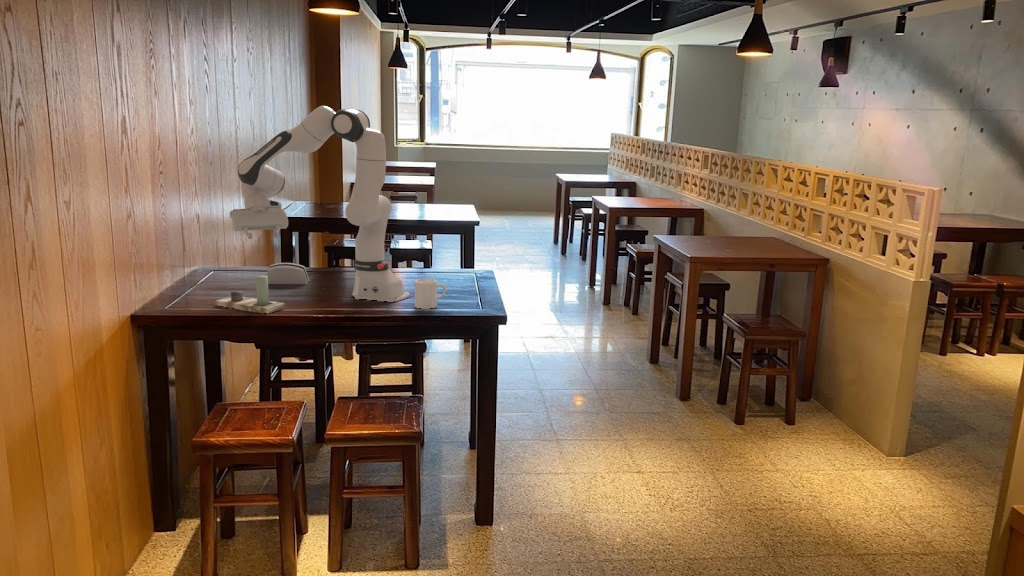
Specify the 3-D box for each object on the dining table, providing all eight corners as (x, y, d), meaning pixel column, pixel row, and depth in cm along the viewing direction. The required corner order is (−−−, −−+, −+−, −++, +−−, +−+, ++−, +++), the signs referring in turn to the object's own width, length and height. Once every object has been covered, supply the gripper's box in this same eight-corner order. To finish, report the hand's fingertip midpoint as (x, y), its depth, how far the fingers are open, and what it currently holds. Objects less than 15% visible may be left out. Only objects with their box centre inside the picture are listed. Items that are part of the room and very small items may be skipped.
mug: (445, 310, 270) (445, 284, 268) (413, 308, 271) (412, 282, 269) (448, 304, 278) (448, 279, 276) (417, 303, 279) (417, 278, 277)
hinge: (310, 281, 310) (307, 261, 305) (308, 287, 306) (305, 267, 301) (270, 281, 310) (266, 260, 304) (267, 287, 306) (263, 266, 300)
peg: (271, 308, 266) (269, 276, 264) (263, 311, 263) (262, 278, 260) (262, 307, 268) (261, 275, 265) (255, 309, 264) (253, 277, 262)
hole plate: (284, 308, 267) (284, 295, 266) (267, 314, 259) (267, 300, 258) (233, 300, 276) (232, 287, 275) (215, 305, 268) (214, 292, 267)
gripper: (229, 204, 276) (234, 233, 269) (285, 202, 285) (291, 230, 279) (228, 214, 280) (233, 244, 274) (283, 212, 290) (289, 240, 283)
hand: (263, 237), depth 276 cm, fingers open, 8 cm apart
